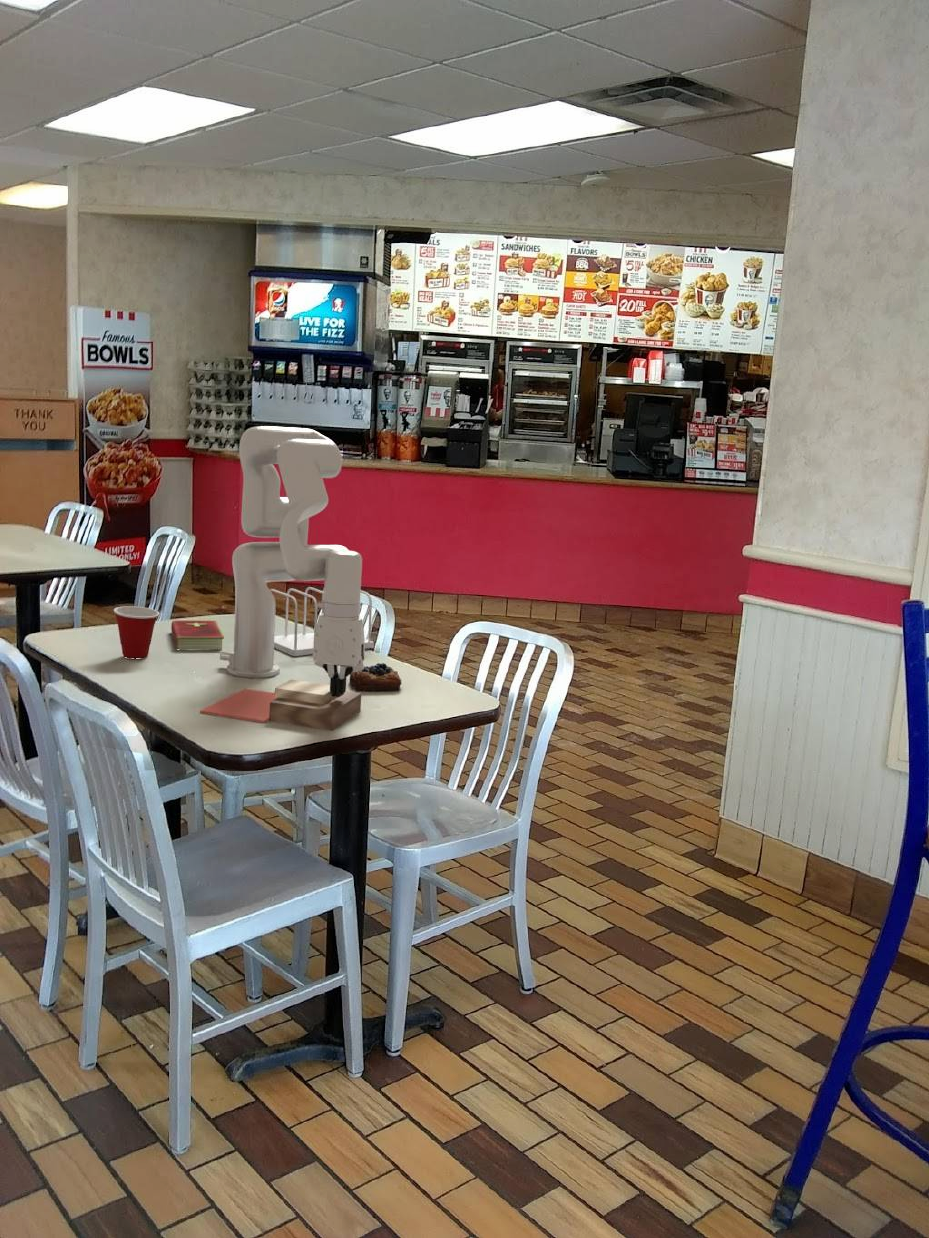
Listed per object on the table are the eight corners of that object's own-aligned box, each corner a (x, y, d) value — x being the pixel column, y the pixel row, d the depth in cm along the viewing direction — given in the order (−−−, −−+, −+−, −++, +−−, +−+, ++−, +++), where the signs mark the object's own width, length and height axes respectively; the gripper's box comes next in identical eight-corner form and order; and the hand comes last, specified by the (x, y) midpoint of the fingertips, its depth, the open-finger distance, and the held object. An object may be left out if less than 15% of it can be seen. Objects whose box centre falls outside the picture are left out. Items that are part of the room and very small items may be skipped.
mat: (200, 712, 224) (200, 710, 224) (244, 690, 243) (245, 688, 243) (264, 722, 220) (264, 720, 220) (304, 699, 239) (305, 697, 239)
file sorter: (340, 636, 306) (343, 582, 303) (374, 649, 293) (377, 593, 290) (261, 643, 291) (263, 586, 288) (293, 657, 277) (295, 598, 274)
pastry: (344, 681, 258) (346, 657, 257) (392, 680, 262) (394, 657, 261) (355, 693, 248) (356, 669, 246) (405, 692, 252) (406, 668, 250)
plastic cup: (147, 664, 259) (147, 615, 257) (105, 659, 261) (105, 611, 259) (166, 654, 270) (167, 608, 268) (126, 650, 272) (126, 604, 269)
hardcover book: (176, 652, 275) (176, 636, 274) (171, 634, 295) (171, 619, 294) (223, 651, 279) (223, 636, 278) (215, 634, 299) (216, 619, 298)
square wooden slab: (269, 720, 222) (269, 701, 221) (301, 701, 237) (302, 684, 236) (331, 730, 218) (332, 711, 217) (360, 710, 233) (361, 693, 233)
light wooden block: (274, 697, 225) (274, 687, 224) (290, 688, 232) (291, 679, 232) (322, 704, 222) (323, 695, 222) (337, 695, 230) (338, 686, 229)
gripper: (300, 608, 220) (297, 694, 224) (368, 617, 216) (364, 704, 220) (315, 603, 227) (312, 686, 231) (381, 611, 223) (377, 696, 227)
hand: (337, 695), depth 225 cm, fingers closed
